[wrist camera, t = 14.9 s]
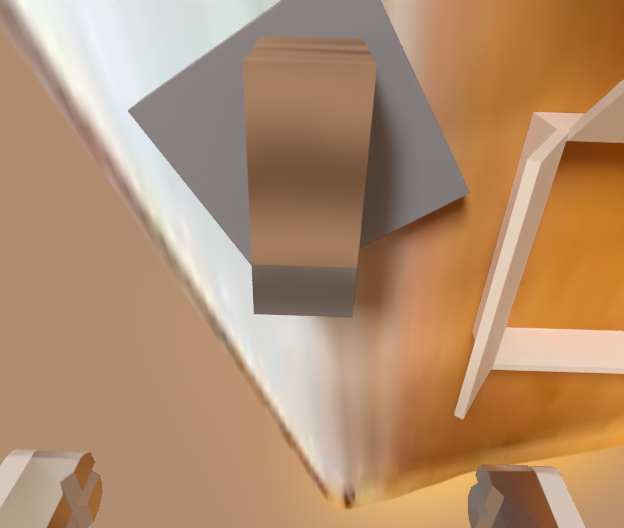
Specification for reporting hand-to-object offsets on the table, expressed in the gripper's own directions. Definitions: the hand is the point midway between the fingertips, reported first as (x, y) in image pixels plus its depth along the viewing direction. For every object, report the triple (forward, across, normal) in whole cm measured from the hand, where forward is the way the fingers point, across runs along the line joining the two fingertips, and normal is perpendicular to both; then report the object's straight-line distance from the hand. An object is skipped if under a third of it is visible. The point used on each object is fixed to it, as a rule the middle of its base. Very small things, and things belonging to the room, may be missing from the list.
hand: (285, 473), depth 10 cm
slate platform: (+23, 0, 0) cm, 23 cm away
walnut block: (+20, 0, 0) cm, 20 cm away
